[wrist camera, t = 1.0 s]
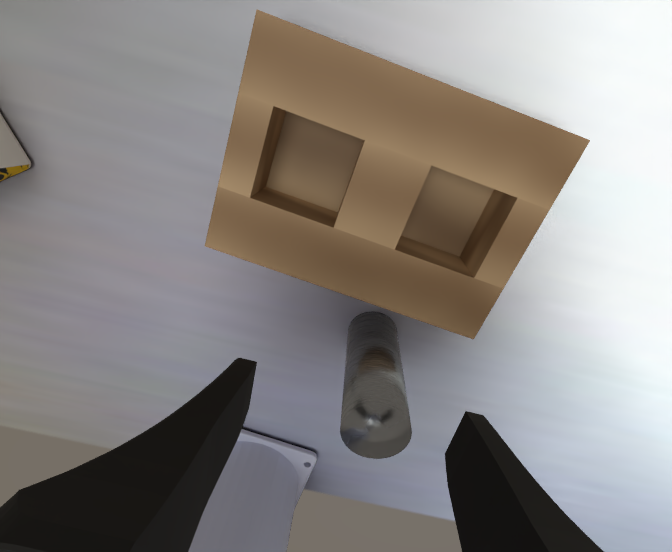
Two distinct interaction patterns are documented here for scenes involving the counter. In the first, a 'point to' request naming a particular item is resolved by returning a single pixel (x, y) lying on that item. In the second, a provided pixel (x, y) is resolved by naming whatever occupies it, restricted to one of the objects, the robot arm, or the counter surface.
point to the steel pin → (374, 389)
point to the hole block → (381, 179)
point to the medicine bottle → (11, 153)
